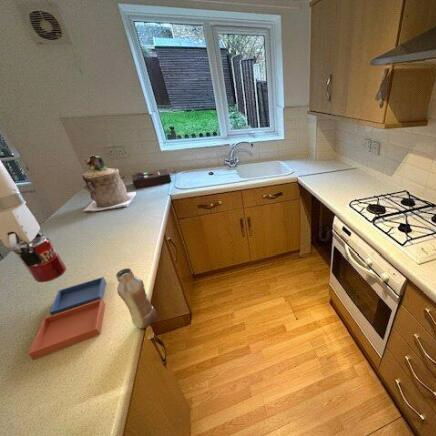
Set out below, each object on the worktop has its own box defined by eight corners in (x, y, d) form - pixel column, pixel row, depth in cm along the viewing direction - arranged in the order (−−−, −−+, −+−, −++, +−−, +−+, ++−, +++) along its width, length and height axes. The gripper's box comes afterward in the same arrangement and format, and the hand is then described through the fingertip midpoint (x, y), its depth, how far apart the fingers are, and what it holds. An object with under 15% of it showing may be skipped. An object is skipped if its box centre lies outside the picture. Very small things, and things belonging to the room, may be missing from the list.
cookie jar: (137, 193, 171) (121, 148, 156) (129, 207, 151) (109, 156, 135) (98, 198, 165) (76, 152, 149) (83, 214, 144) (56, 161, 129)
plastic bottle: (133, 334, 71) (106, 284, 61) (136, 317, 76) (112, 268, 67) (157, 326, 73) (135, 277, 63) (158, 310, 79) (138, 262, 69)
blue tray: (53, 318, 77) (49, 312, 76) (62, 295, 86) (58, 290, 84) (102, 301, 83) (99, 296, 81) (106, 281, 91) (103, 276, 90)
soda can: (30, 280, 72) (6, 247, 66) (57, 265, 78) (38, 234, 72) (45, 285, 69) (22, 252, 64) (72, 269, 75) (53, 238, 70)
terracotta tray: (33, 359, 65) (27, 353, 64) (47, 323, 75) (43, 318, 74) (100, 334, 71) (96, 328, 70) (105, 304, 82) (102, 298, 80)
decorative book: (172, 173, 186) (128, 181, 173) (175, 182, 190) (131, 190, 176) (169, 167, 201) (128, 174, 187) (171, 176, 205) (131, 183, 191)
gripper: (-3, 194, 67) (32, 246, 75) (-37, 219, 53) (10, 279, 62) (33, 188, 70) (62, 239, 78) (9, 210, 57) (48, 268, 65)
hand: (39, 256), depth 70 cm, fingers closed on soda can, 7 cm apart
